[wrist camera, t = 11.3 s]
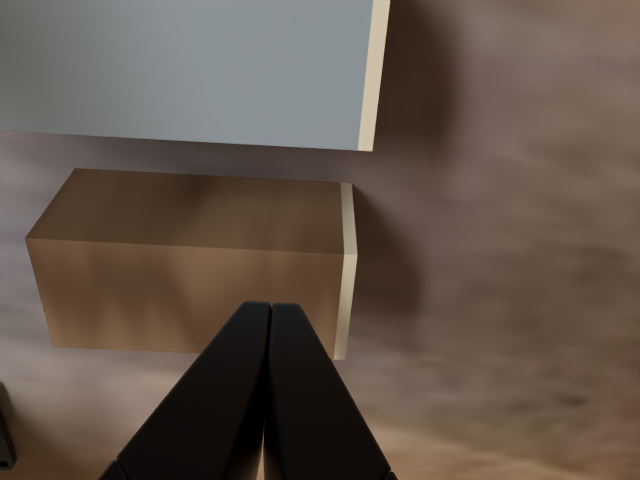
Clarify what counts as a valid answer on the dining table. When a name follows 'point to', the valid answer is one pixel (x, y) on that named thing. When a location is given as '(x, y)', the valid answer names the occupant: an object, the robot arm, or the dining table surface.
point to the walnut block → (190, 257)
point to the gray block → (195, 70)
